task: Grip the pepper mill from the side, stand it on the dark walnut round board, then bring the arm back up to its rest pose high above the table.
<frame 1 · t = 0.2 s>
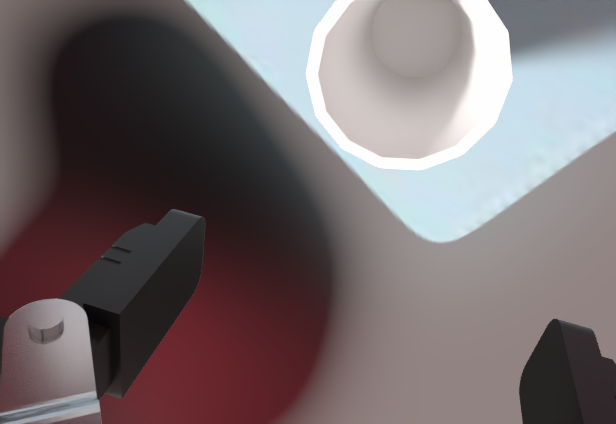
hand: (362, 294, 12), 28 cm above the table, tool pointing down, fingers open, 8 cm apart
foam cup: (416, 30, 36), on the table
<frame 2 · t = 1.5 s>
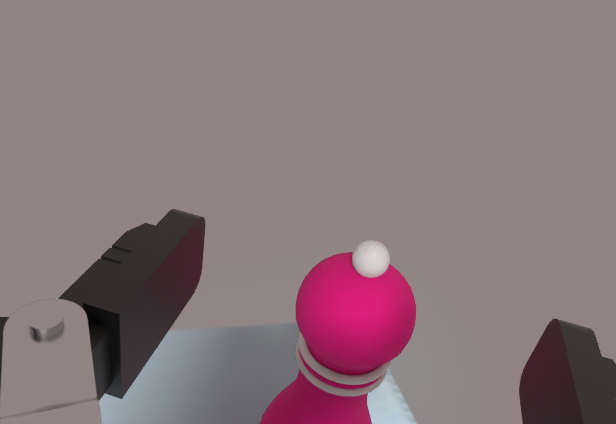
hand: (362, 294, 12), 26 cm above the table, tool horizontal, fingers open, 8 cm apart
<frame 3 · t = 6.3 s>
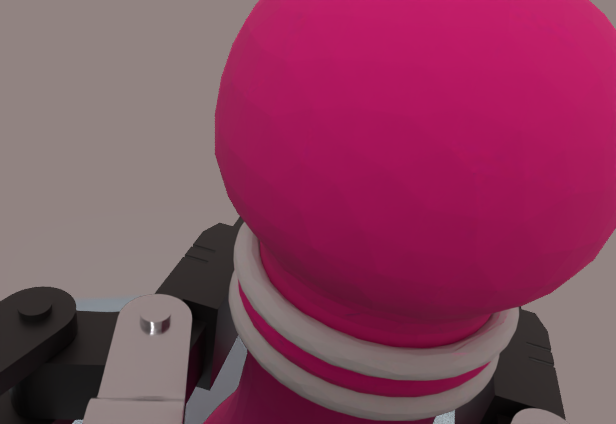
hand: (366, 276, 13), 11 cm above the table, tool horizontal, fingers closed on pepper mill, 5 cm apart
when the fingers open (13 cm above the table, at t = 10.8 s): pepper mill drops 1 cm, resting on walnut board.
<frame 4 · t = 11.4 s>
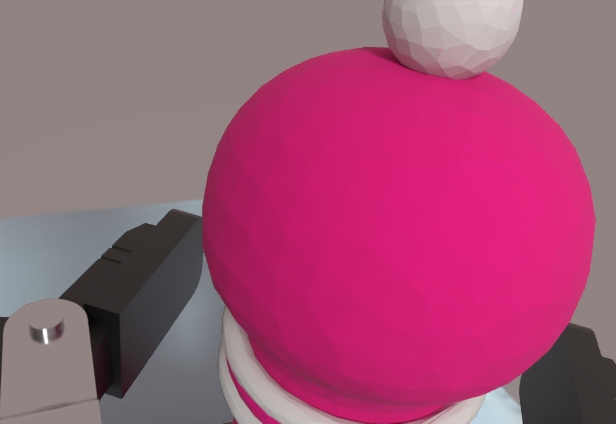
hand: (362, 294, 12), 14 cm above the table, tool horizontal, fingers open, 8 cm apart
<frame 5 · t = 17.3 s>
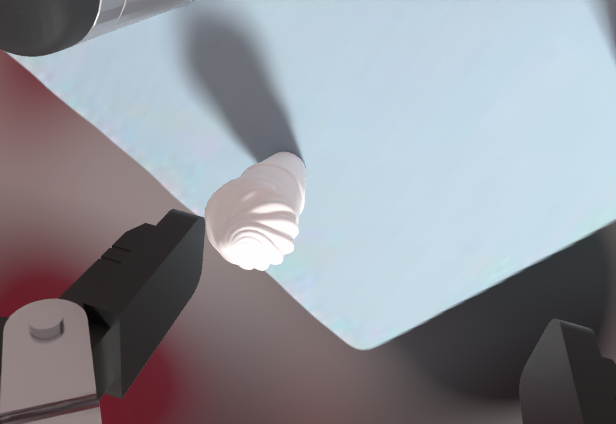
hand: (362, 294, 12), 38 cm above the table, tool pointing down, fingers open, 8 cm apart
soft serve ice cream cone: (286, 169, 55), on the table
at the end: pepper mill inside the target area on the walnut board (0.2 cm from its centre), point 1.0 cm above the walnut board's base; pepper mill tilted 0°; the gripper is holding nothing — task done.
